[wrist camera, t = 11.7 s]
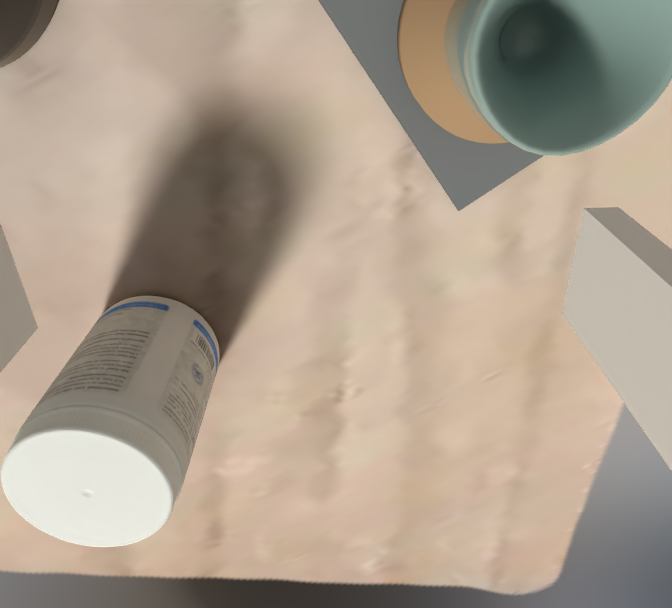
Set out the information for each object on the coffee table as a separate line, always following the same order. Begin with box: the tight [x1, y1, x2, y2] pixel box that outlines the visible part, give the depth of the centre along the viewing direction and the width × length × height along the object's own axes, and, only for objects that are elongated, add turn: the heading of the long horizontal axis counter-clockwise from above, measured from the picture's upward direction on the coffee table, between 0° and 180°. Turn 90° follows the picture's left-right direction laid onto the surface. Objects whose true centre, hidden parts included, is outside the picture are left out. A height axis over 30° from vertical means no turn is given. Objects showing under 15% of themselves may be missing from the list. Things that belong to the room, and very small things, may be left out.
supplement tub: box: [1, 296, 220, 547], centre depth 36 cm, size 10×10×15 cm
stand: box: [319, 0, 544, 211], centre depth 30 cm, size 16×14×4 cm
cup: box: [443, 0, 672, 156], centre depth 24 cm, size 8×8×10 cm
